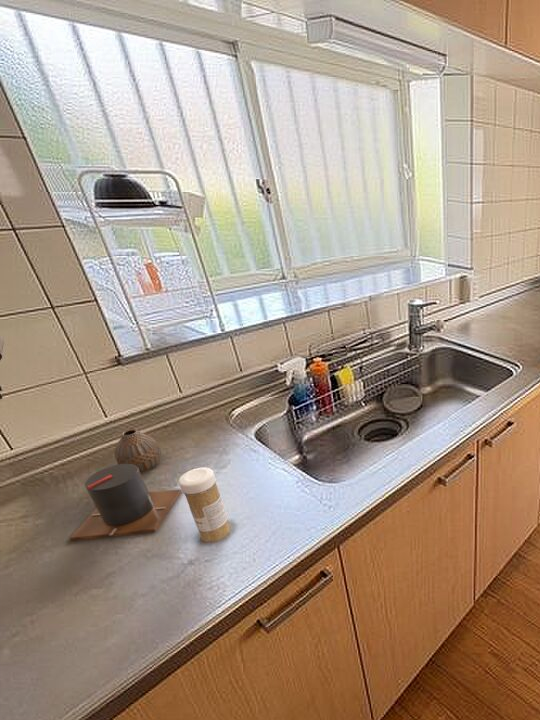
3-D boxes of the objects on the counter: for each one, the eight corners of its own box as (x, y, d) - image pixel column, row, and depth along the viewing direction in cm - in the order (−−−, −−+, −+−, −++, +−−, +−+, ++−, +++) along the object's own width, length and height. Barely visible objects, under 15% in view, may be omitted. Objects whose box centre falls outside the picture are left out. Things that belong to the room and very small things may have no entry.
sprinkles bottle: (197, 538, 72) (172, 477, 66) (225, 522, 75) (204, 462, 69) (209, 551, 70) (185, 489, 64) (238, 534, 73) (218, 473, 67)
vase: (158, 453, 91) (144, 419, 87) (170, 466, 88) (157, 431, 84) (117, 468, 86) (101, 433, 82) (129, 483, 83) (112, 446, 79)
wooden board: (70, 546, 69) (66, 539, 68) (111, 500, 78) (107, 493, 78) (155, 537, 72) (152, 530, 71) (184, 493, 81) (182, 486, 80)
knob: (137, 494, 78) (121, 458, 74) (162, 504, 76) (147, 468, 72) (94, 518, 72) (74, 481, 69) (120, 530, 71) (101, 493, 67)
